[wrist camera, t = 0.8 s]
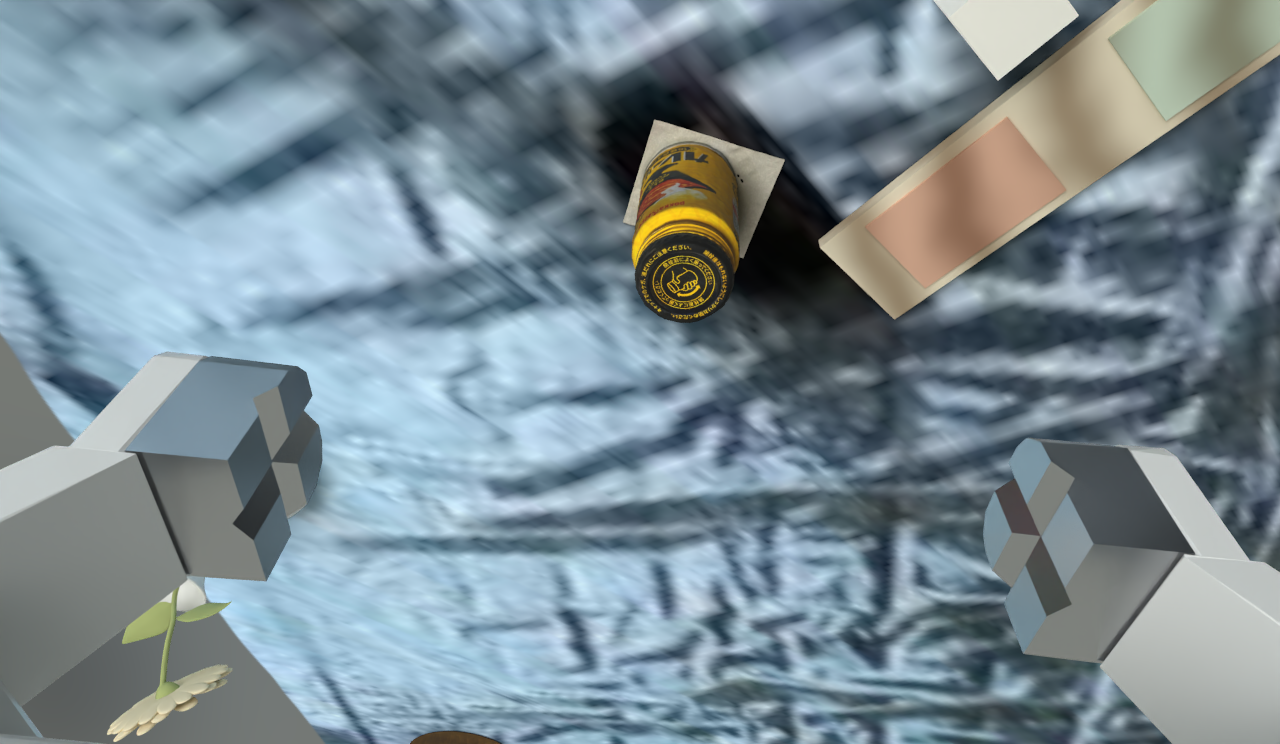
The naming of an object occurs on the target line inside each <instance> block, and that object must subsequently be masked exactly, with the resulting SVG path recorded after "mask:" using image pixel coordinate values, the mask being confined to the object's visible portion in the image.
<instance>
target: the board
mask: <svg viewBox="0 0 1280 744" xmlns="http://www.w3.org/2000/svg"><path fill="white" fill-rule="evenodd" d="M1278 55H1280V0H1121V1H1120V2H1118V3H1117V4H1116V5H1115V6H1113V7H1112V8H1111V9H1109V10H1108V11H1107V12H1106V13H1104V14H1103V15H1102V16H1101V17H1099V18H1098V19H1097V20H1096V21H1094V22H1093V23H1092V24H1091V25H1089V26H1088V27H1087V28H1085V29H1084V30H1083V31H1082V32H1080V33H1079V34H1078V35H1077V36H1075V37H1074V38H1073V39H1072V40H1070V41H1069V42H1068V43H1067V44H1065V45H1064V46H1063V47H1062V48H1060V49H1059V50H1058V51H1056V52H1055V53H1054V54H1053V55H1051V56H1050V57H1049V58H1048V59H1046V60H1045V61H1044V62H1043V63H1041V64H1040V65H1039V66H1038V67H1036V68H1035V69H1034V70H1032V71H1031V72H1030V73H1029V74H1027V75H1026V76H1025V77H1024V78H1022V79H1021V80H1020V81H1019V82H1017V83H1016V84H1015V85H1014V86H1012V87H1011V88H1010V89H1008V90H1007V91H1006V92H1005V93H1003V94H1002V95H1001V96H1000V97H998V98H997V99H996V100H995V101H993V102H992V103H991V104H990V105H988V106H987V107H986V108H985V109H983V110H982V111H981V112H979V113H978V114H977V115H976V116H974V117H973V118H972V119H971V120H969V121H968V122H967V123H966V124H964V125H963V126H962V127H961V128H959V129H958V130H957V131H955V132H954V133H953V134H952V135H950V136H949V137H948V138H947V139H945V140H944V141H943V142H942V143H940V144H939V145H938V146H937V147H935V148H934V149H933V150H931V151H930V152H929V153H928V154H926V155H925V156H924V157H923V158H921V159H920V160H919V161H918V162H916V163H915V164H914V165H913V166H911V167H910V168H909V169H908V170H906V171H905V172H904V173H902V174H901V175H900V176H899V177H897V178H896V179H895V180H894V181H892V182H891V183H890V184H889V185H887V186H886V187H885V188H884V189H882V190H881V191H880V192H878V193H877V194H876V195H875V196H873V197H872V198H871V199H870V200H868V201H867V202H866V203H865V204H863V205H862V206H861V207H860V208H858V209H857V210H856V211H854V212H853V213H852V214H851V215H849V216H848V217H847V218H846V219H844V220H843V221H842V222H841V223H839V224H838V225H837V226H836V227H834V228H833V229H832V230H831V231H829V232H828V233H827V234H825V235H824V236H823V237H822V238H820V239H819V240H818V241H819V245H820V248H821V249H822V250H823V251H824V252H825V253H826V254H827V255H828V256H829V257H830V258H831V259H832V260H833V261H834V262H835V263H836V264H837V265H838V266H839V267H841V268H842V269H843V270H844V271H845V272H846V273H847V274H848V275H849V276H850V277H851V278H852V279H853V280H854V281H855V282H856V283H857V284H858V285H859V286H860V287H861V288H862V289H863V290H864V291H865V292H866V293H868V294H869V295H870V296H871V297H872V298H873V299H874V300H875V301H876V302H877V303H878V304H879V305H880V306H881V307H882V308H883V309H884V310H885V311H886V312H887V313H888V314H889V315H890V316H891V317H892V318H893V319H894V320H895V319H896V318H898V317H899V316H901V315H902V314H904V313H905V312H906V311H908V310H909V309H911V308H912V307H914V306H915V305H917V304H918V303H920V302H921V301H922V300H924V299H925V298H927V297H928V296H930V295H931V294H933V293H934V292H935V291H937V290H938V289H940V288H941V287H943V286H944V285H946V284H947V283H949V282H950V281H951V280H953V279H954V278H956V277H957V276H959V275H960V274H962V273H963V272H965V271H966V270H967V269H969V268H970V267H972V266H973V265H975V264H976V263H978V262H979V261H981V260H982V259H983V258H985V257H986V256H988V255H989V254H991V253H992V252H994V251H995V250H996V249H998V248H999V247H1001V246H1002V245H1004V244H1005V243H1007V242H1008V241H1010V240H1011V239H1012V238H1014V237H1015V236H1017V235H1018V234H1020V233H1021V232H1023V231H1024V230H1026V229H1027V228H1028V227H1030V226H1031V225H1033V224H1034V223H1036V222H1037V221H1039V220H1040V219H1042V218H1043V217H1044V216H1046V215H1047V214H1049V213H1050V212H1052V211H1053V210H1055V209H1056V208H1057V207H1059V206H1060V205H1062V204H1063V203H1065V202H1066V201H1068V200H1069V199H1071V198H1072V197H1073V196H1075V195H1076V194H1078V193H1079V192H1081V191H1082V190H1084V189H1085V188H1087V187H1088V186H1089V185H1091V184H1092V183H1094V182H1095V181H1097V180H1098V179H1100V178H1101V177H1103V176H1104V175H1105V174H1107V173H1108V172H1110V171H1111V170H1113V169H1114V168H1116V167H1117V166H1118V165H1120V164H1121V163H1123V162H1124V161H1126V160H1127V159H1129V158H1130V157H1132V156H1133V155H1134V154H1136V153H1137V152H1139V151H1140V150H1142V149H1143V148H1145V147H1146V146H1148V145H1149V144H1150V143H1152V142H1153V141H1155V140H1156V139H1158V138H1159V137H1161V136H1162V135H1164V134H1165V133H1166V132H1168V131H1169V130H1171V129H1172V128H1174V127H1175V126H1177V125H1178V124H1179V123H1181V122H1182V121H1184V120H1185V119H1187V118H1188V117H1190V116H1191V115H1193V114H1194V113H1195V112H1197V111H1198V110H1200V109H1201V108H1203V107H1204V106H1206V105H1207V104H1209V103H1210V102H1211V101H1213V100H1214V99H1216V98H1217V97H1219V96H1220V95H1222V94H1223V93H1224V92H1226V91H1227V90H1229V89H1230V88H1232V87H1233V86H1235V85H1236V84H1238V83H1239V82H1240V81H1242V80H1243V79H1245V78H1246V77H1248V76H1249V75H1251V74H1252V73H1254V72H1255V71H1256V70H1258V69H1259V68H1261V67H1262V66H1264V65H1265V64H1267V63H1268V62H1270V61H1271V60H1272V59H1274V58H1275V57H1277V56H1278Z"/></svg>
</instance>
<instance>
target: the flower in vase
mask: <svg viewBox="0 0 1280 744" xmlns="http://www.w3.org/2000/svg"><path fill="white" fill-rule="evenodd" d="M304 507H305V506H303V507H302V508H300V509H299V510H297V511H295V512H294V513H292V514H291V515H289V516H288V517H287V519H288V518H290V517H292V516H293V515H295V514H296V513H297V512H299V511H300V510H301V509H303V508H304ZM187 578H188V579H187V581H186V582H185V583H183V584H182V585H181V586H179V587H178V588H177V589H175V590H174V591H173V592H171V593H170V594H169V595H167V596H166V597H165V598H164V599H162V600H161V601H160V602H158V603H157V604H156V605H154V606H153V607H152V608H150V609H149V610H148V611H146V612H145V613H144V614H142V615H141V616H140V617H139V618H137V619H136V620H135V621H133V622H132V623H131V624H129V625H128V626H127V628H126V631H125V634H124V637H123V641H122V644H126V643H130V642H134V641H138V640H142V639H146V638H149V637H153V636H156V635H159V634H161V633H164V632H165V631H166V630H167V629H168V628H169V629H168V632H167V636H166V641H165V645H164V651H163V658H162V666H161V677H160V686H159V687H158V689H157V691H156V692H155V693H153V694H151V695H150V696H148V697H146V698H144V699H143V700H141V701H140V702H138V703H137V704H135V705H134V706H133V707H132V708H131V709H130V710H128V711H127V712H125V713H124V714H123V715H121V716H120V717H119V718H118V719H117V720H116V721H115V722H113V723H112V724H111V725H110V727H111V728H110V729H109V730H108V733H107V735H110V734H112V733H113V734H117V733H119V734H118V735H117V736H116V737H115V739H114V742H117V741H119V740H121V739H122V738H124V737H125V736H127V735H128V734H129V733H131V732H132V731H133V730H134V729H136V728H137V727H138V726H140V725H141V726H140V727H139V729H138V731H137V735H142V734H144V733H146V732H148V731H149V730H150V729H152V728H153V727H154V726H155V724H156V723H157V722H160V721H162V720H163V719H165V718H166V717H167V716H168V715H169V713H170V712H171V711H172V710H173V709H174V710H176V711H186V710H188V709H190V708H192V707H194V706H195V705H196V704H197V703H198V700H197V699H196V698H195V697H192V695H196V694H202V693H205V692H209V691H211V690H213V689H216V688H219V687H221V686H223V685H224V684H226V683H227V681H228V680H226V679H222V680H218V679H220V678H222V677H225V676H226V675H228V674H229V673H230V672H231V671H232V670H233V669H232V668H227V667H228V665H216V666H213V667H208V668H205V669H202V670H200V671H198V672H196V673H193V674H190V675H188V676H186V677H184V678H182V679H180V680H177V681H174V682H166V673H167V663H168V654H169V648H170V642H171V638H172V634H173V630H174V626H175V621H176V618H177V620H179V621H183V622H192V621H197V620H200V619H204V618H207V617H209V616H212V615H214V614H216V613H218V612H219V611H221V610H222V609H224V608H225V607H226V606H228V605H229V604H230V603H231V602H232V601H231V602H229V603H207V604H205V603H206V593H205V589H204V581H205V577H197V576H187ZM177 610H178V611H188V612H186V613H184V614H182V615H181V616H179V617H176V611H177Z"/></svg>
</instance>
